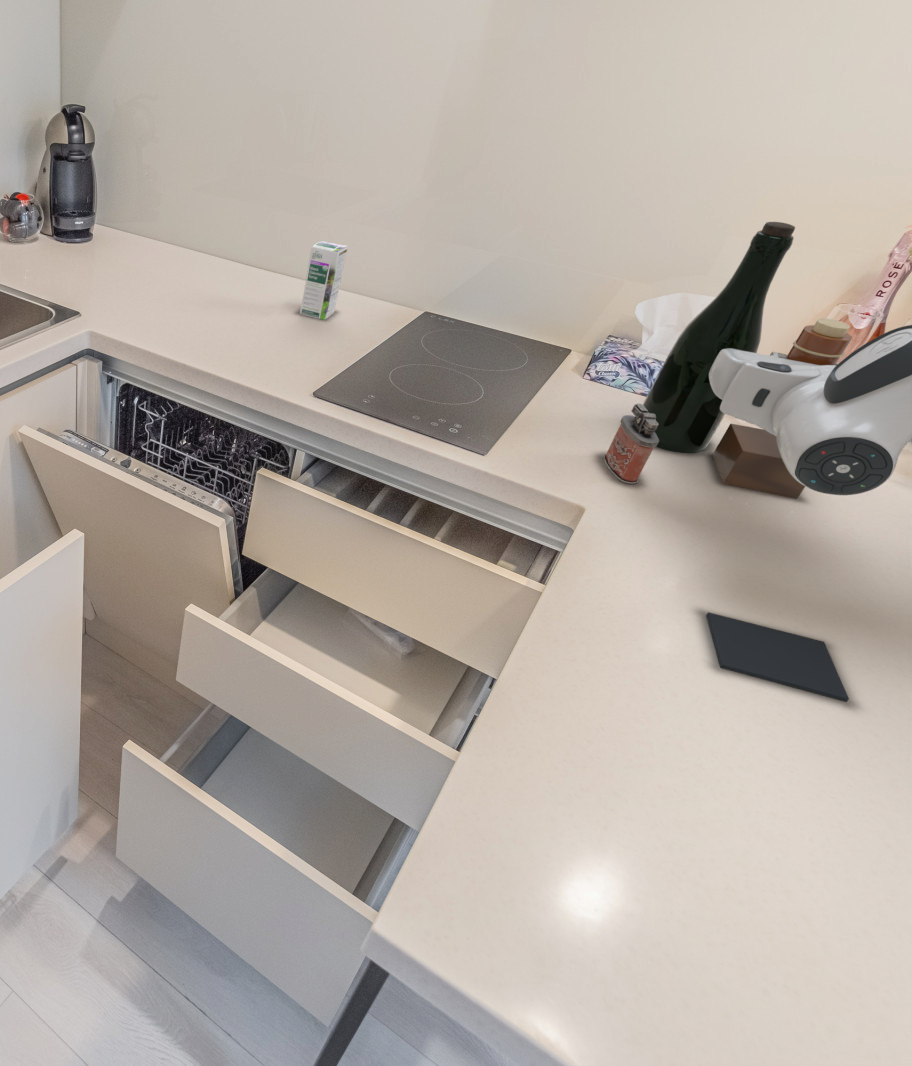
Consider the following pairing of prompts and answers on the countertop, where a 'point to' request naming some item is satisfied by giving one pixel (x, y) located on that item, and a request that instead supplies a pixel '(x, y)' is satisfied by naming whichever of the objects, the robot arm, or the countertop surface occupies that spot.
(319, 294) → the syrup box
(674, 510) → the countertop surface
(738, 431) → the shelf
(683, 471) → the countertop surface
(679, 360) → the dark green wine bottle
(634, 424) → the lighter
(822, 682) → the rubber mat
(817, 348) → the brown ringed jar
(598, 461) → the countertop surface
